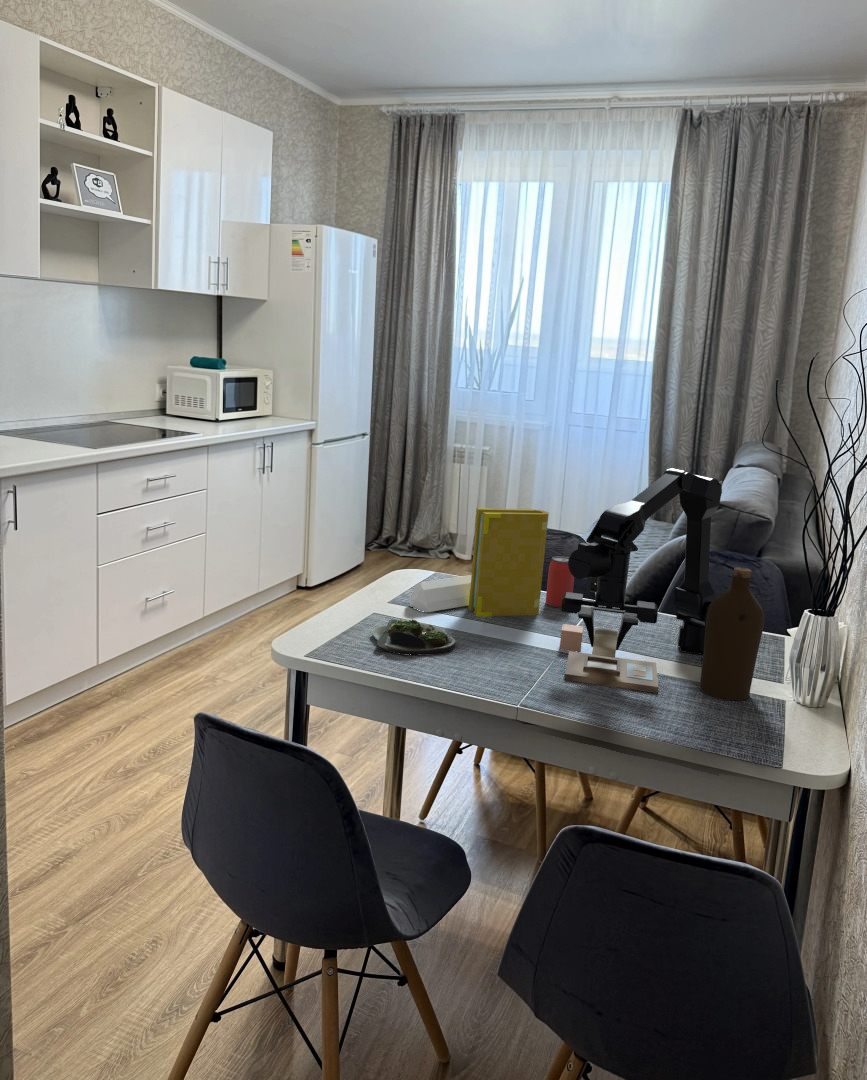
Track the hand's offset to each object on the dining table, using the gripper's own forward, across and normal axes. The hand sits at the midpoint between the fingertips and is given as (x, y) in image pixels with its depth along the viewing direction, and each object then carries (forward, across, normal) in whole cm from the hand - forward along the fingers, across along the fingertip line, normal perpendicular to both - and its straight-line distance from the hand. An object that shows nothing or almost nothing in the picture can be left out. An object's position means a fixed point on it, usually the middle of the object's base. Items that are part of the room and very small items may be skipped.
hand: (604, 648), depth 180 cm
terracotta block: (+5, +7, -13) cm, 16 cm away
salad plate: (+6, +40, -2) cm, 41 cm away
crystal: (+6, +38, -33) cm, 51 cm away
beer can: (+6, +12, -45) cm, 47 cm away
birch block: (+1, 0, 0) cm, 1 cm away
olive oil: (+5, -24, +1) cm, 25 cm away
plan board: (+5, -2, 0) cm, 6 cm away
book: (+6, +24, -33) cm, 41 cm away
